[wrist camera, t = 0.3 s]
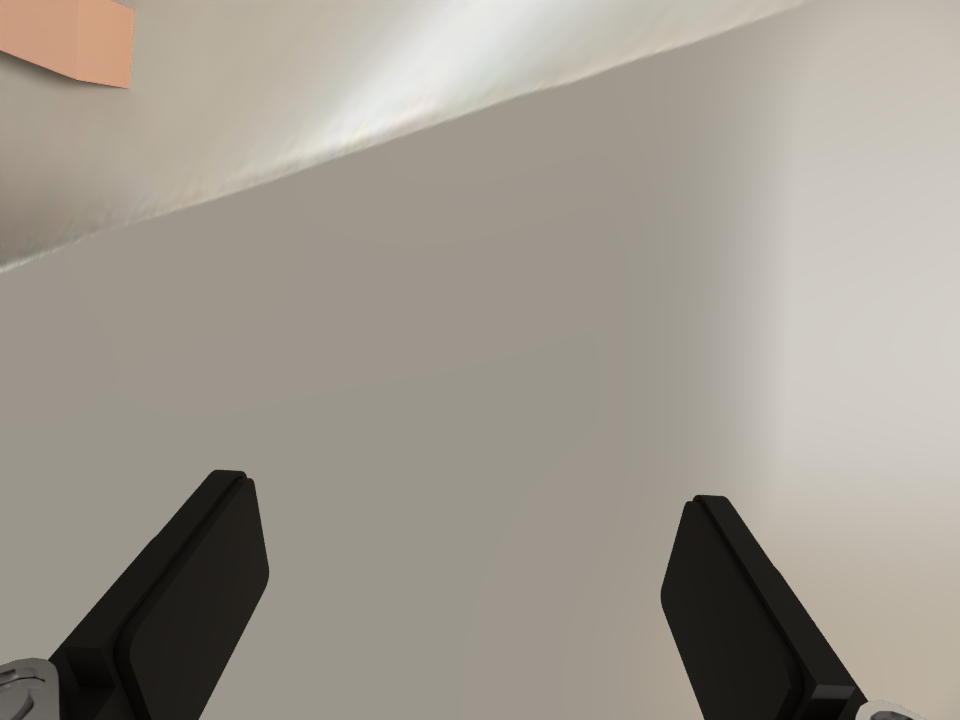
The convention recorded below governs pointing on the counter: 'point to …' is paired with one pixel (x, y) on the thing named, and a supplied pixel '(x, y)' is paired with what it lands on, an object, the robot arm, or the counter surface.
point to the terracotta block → (71, 37)
